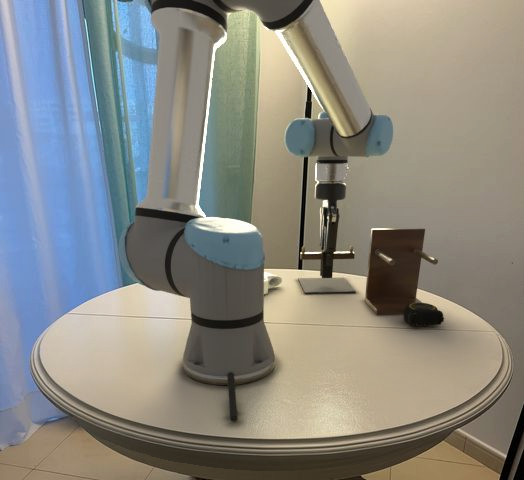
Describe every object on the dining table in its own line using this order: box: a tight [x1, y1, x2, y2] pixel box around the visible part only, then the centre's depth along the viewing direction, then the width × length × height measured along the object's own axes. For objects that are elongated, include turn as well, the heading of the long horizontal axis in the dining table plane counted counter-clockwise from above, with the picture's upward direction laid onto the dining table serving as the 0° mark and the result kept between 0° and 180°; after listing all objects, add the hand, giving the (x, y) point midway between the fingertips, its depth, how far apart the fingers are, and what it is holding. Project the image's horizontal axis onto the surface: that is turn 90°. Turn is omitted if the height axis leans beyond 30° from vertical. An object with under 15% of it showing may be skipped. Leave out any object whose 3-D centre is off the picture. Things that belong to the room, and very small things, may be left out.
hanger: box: [299, 245, 355, 261], centre depth 118 cm, size 2×14×3 cm, turn 93°
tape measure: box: [403, 302, 445, 328], centre depth 94 cm, size 7×7×4 cm
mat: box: [297, 277, 357, 295], centre depth 121 cm, size 14×13×1 cm
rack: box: [364, 227, 439, 315], centre depth 100 cm, size 12×12×17 cm
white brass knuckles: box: [264, 271, 283, 295], centre depth 121 cm, size 3×18×15 cm
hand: (326, 276), depth 120 cm, fingers closed on hanger, 2 cm apart
